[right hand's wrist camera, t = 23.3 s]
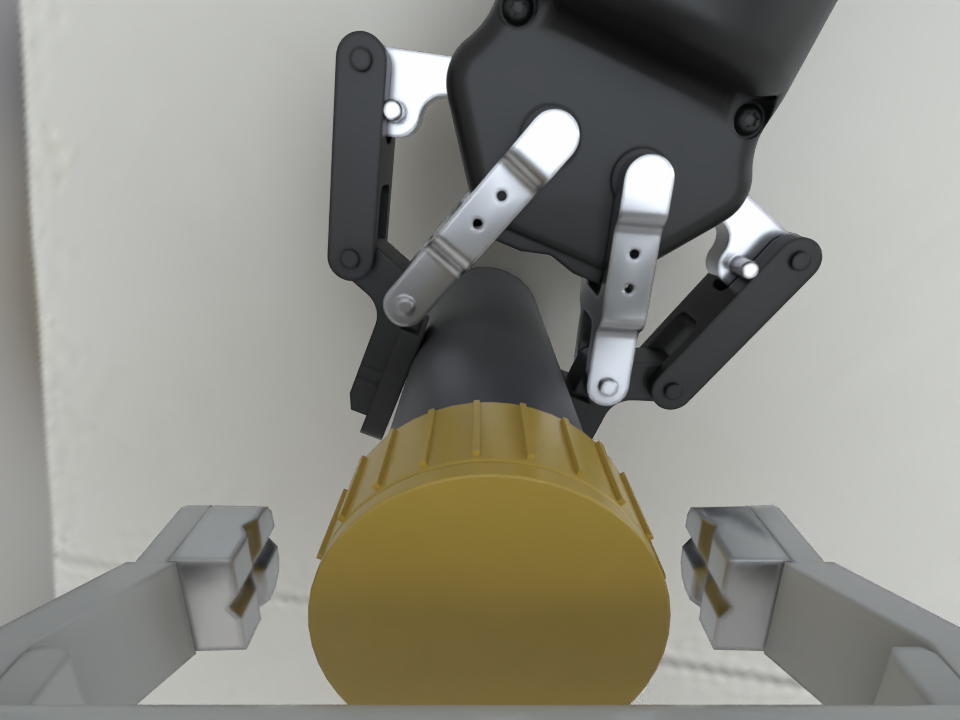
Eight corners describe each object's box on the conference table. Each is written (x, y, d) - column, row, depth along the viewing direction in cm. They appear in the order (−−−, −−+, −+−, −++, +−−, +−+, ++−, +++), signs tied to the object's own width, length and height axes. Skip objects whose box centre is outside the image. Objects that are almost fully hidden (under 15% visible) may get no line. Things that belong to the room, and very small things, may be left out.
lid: (679, 577, 11) (730, 686, 9) (432, 679, 12) (422, 801, 10) (555, 341, 9) (579, 402, 7) (281, 480, 10) (225, 572, 8)
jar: (560, 302, 23) (687, 546, 9) (502, 391, 25) (532, 726, 10) (462, 245, 23) (432, 412, 8) (408, 340, 24) (301, 626, 10)
